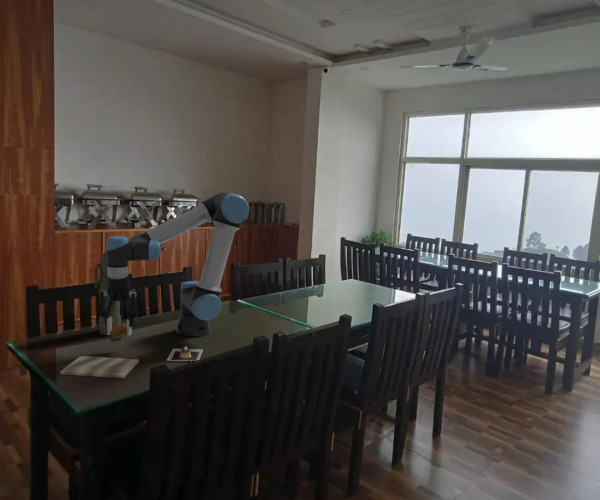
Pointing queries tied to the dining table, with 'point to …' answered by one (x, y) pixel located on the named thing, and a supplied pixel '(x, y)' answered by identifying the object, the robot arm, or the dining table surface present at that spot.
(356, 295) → the dining table surface
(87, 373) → the serving board
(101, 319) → the thermos
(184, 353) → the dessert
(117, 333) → the pastry
